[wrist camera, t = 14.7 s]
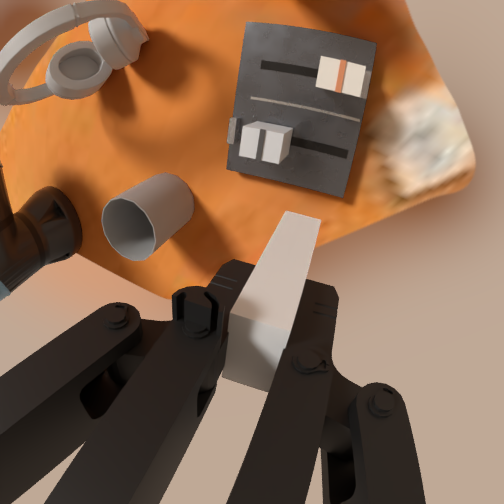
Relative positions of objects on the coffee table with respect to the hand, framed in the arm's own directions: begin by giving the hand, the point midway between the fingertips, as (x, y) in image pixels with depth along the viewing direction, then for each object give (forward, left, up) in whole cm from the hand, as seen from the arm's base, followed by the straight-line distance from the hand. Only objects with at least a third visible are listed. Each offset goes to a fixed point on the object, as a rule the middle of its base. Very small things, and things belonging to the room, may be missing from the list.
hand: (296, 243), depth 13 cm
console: (-4, +4, -24) cm, 25 cm away
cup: (-20, -12, -25) cm, 34 cm away
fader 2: (0, +8, -22) cm, 23 cm away
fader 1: (-6, 0, -22) cm, 23 cm away
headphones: (-30, +9, -25) cm, 40 cm away
